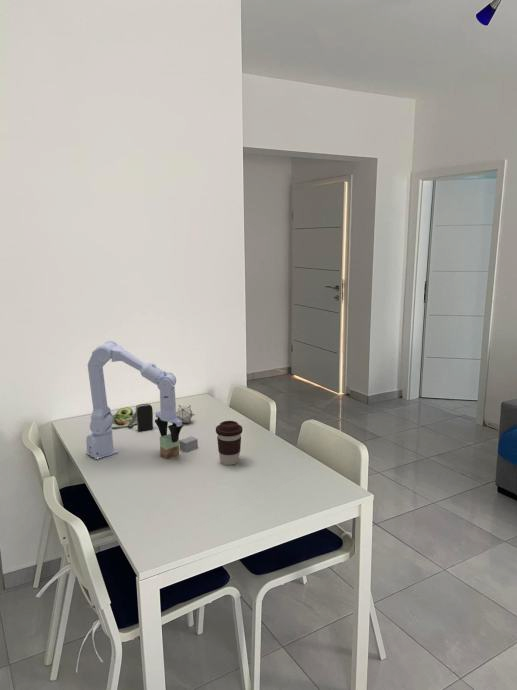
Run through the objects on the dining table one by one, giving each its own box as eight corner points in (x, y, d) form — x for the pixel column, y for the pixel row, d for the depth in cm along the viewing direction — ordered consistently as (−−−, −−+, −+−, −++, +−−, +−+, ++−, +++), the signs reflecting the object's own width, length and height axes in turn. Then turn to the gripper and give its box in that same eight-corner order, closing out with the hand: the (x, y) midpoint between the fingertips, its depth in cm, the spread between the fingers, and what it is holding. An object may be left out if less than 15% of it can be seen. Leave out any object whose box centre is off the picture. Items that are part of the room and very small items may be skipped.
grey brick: (185, 452, 206) (185, 443, 206) (179, 449, 209) (179, 440, 208) (197, 448, 211) (197, 439, 210) (191, 445, 213) (191, 436, 213)
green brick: (166, 449, 199) (165, 439, 199) (160, 446, 202) (159, 437, 201) (179, 445, 204) (178, 435, 203) (173, 442, 206) (172, 432, 206)
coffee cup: (239, 468, 193) (238, 429, 190) (213, 465, 195) (212, 427, 192) (245, 456, 203) (245, 419, 199) (220, 454, 204) (219, 418, 201)
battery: (151, 426, 233) (150, 401, 231) (153, 429, 230) (152, 404, 227) (135, 429, 230) (134, 404, 228) (137, 432, 227) (136, 406, 224)
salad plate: (148, 426, 234) (148, 416, 233) (108, 433, 226) (107, 423, 225) (137, 413, 251) (136, 404, 250) (98, 419, 243) (98, 410, 242)
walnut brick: (166, 459, 200) (166, 449, 199) (160, 456, 203) (160, 446, 202) (179, 454, 204) (179, 445, 204) (173, 451, 207) (172, 442, 206)
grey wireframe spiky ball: (180, 430, 239) (170, 411, 240) (197, 421, 241) (186, 402, 243) (181, 427, 230) (170, 407, 232) (198, 418, 233) (188, 398, 235)
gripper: (188, 407, 197) (189, 441, 200) (165, 398, 207) (167, 431, 210) (172, 412, 192) (174, 446, 195) (150, 402, 202) (151, 436, 205)
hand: (169, 439), depth 202 cm, fingers open, 7 cm apart
